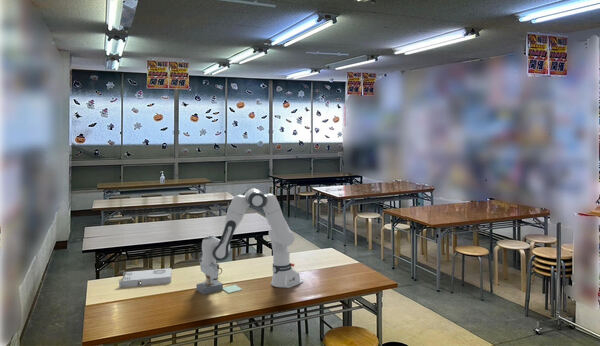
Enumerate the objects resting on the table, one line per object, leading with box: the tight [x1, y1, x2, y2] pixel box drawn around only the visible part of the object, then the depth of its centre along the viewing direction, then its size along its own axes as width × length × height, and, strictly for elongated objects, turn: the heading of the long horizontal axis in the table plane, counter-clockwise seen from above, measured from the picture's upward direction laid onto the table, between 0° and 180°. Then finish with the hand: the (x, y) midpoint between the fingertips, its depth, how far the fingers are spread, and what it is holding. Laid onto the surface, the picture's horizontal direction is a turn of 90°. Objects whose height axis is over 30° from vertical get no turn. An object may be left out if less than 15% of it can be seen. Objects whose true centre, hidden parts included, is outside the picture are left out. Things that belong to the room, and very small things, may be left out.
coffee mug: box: [213, 262, 223, 280], centre depth 290 cm, size 12×9×10 cm
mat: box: [222, 284, 243, 294], centre depth 271 cm, size 10×10×1 cm
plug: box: [205, 276, 213, 286], centre depth 270 cm, size 4×4×9 cm
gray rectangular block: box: [195, 279, 224, 295], centre depth 270 cm, size 14×10×4 cm
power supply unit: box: [118, 267, 173, 288], centre depth 288 cm, size 19×33×5 cm, turn 106°
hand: (209, 281), depth 270 cm, fingers closed on plug, 4 cm apart
